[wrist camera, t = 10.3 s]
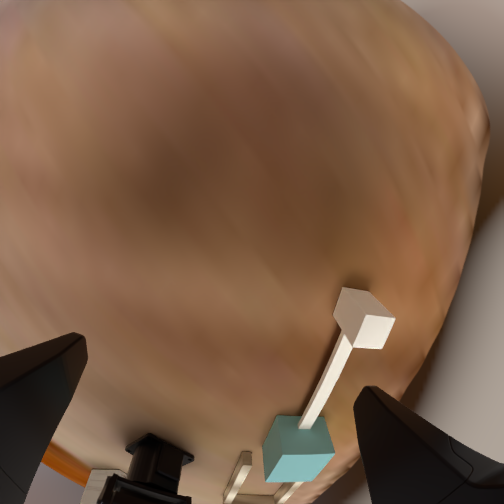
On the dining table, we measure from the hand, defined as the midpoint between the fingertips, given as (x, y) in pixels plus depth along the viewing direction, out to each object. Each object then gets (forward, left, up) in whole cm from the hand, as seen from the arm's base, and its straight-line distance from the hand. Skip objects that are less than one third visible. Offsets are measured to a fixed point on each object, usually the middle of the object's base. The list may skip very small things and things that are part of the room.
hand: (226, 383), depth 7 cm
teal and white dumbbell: (-4, -14, -12) cm, 18 cm away
